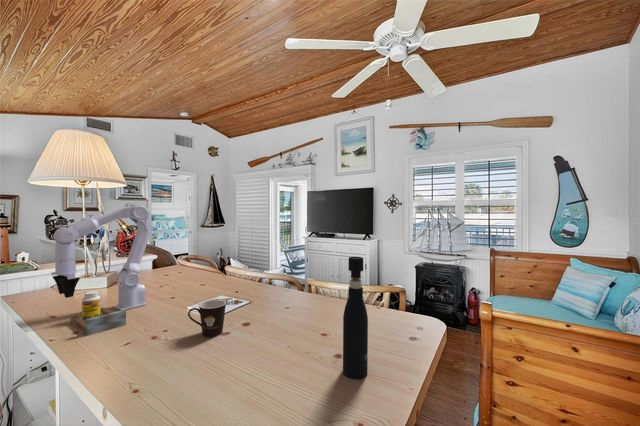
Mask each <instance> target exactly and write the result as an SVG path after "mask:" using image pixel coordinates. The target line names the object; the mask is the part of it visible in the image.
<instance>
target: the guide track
mask: <svg viewBox="0 0 640 426" xmlns="http://www.w3.org/2000/svg"><path fill="white" fill-rule="evenodd" d="M101 314H102V315H101ZM101 314H100V316H97V317H93V318H89V319H86V321H83V320H82V317H79V316H78V315H73V316H70V323H71V324H72V325H74V326H75V327H76V328H78V329H79V330H80V331H81V332H82V333H83V334H85V335H86V336H91V335H95V334H98V333H102V332H105V331H106V332H107V331H109V330H112V329H116V328H119V327H123V326H126V325H127V310H118V311H115V312H114V311H112V310H111V309H110V308H103V309H102V310H101Z"/></svg>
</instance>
